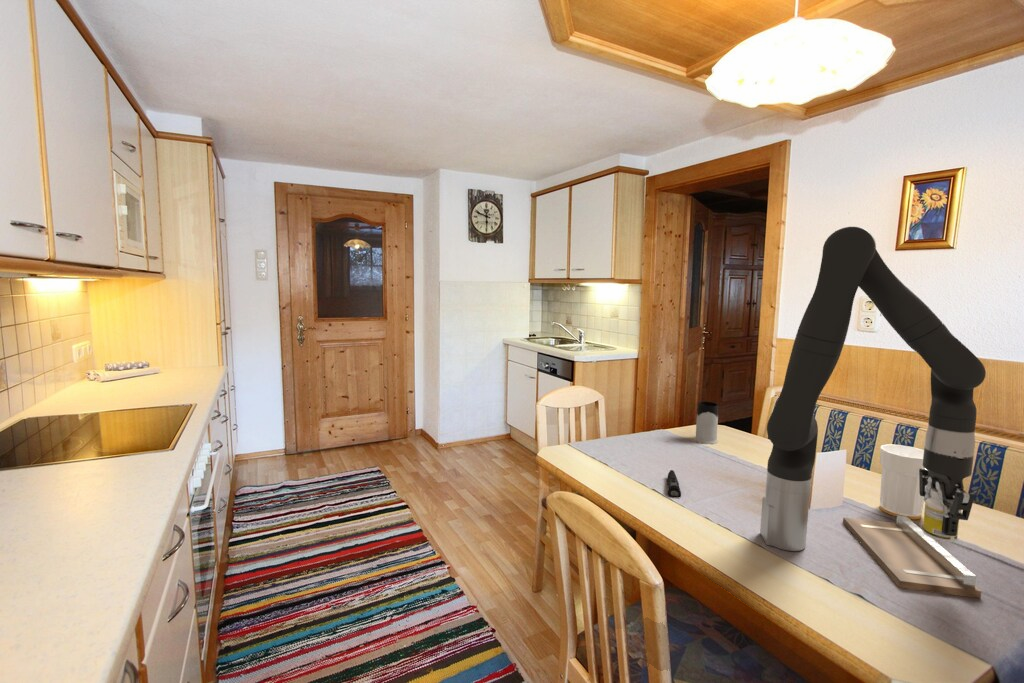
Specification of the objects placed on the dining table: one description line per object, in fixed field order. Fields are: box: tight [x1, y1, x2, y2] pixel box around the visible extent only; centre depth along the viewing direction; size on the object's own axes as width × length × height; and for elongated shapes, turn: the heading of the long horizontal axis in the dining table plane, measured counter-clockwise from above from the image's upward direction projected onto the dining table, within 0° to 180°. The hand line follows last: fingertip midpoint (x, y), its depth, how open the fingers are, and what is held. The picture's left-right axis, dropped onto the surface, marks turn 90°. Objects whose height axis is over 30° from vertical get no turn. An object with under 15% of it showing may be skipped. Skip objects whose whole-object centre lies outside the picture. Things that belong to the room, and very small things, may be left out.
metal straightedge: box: [895, 515, 978, 588], centre depth 110 cm, size 2×26×2 cm, turn 166°
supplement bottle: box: [922, 488, 960, 543], centre depth 100 cm, size 5×5×10 cm
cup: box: [878, 444, 927, 520], centre depth 133 cm, size 11×11×17 cm
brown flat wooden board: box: [842, 517, 982, 599], centre depth 112 cm, size 14×28×2 cm, turn 166°
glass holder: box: [694, 401, 719, 445], centre depth 195 cm, size 9×14×15 cm, turn 162°
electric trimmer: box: [666, 469, 682, 498], centre depth 149 cm, size 4×16×3 cm, turn 164°
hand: (939, 527), depth 101 cm, fingers closed on supplement bottle, 5 cm apart
